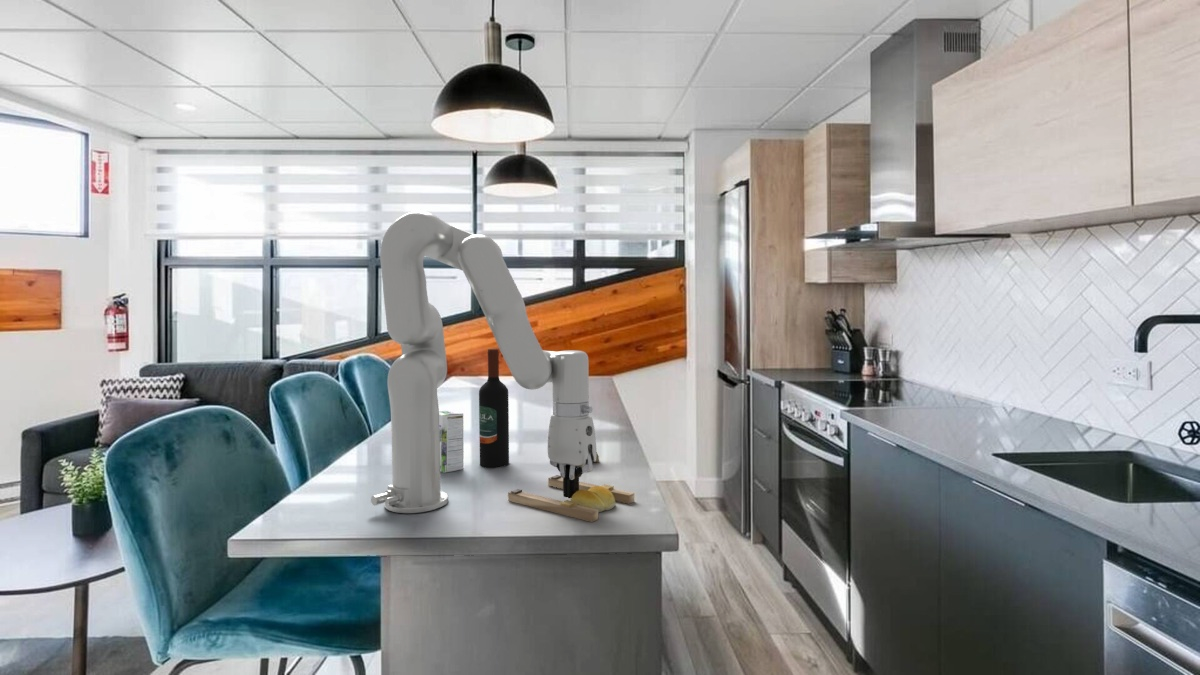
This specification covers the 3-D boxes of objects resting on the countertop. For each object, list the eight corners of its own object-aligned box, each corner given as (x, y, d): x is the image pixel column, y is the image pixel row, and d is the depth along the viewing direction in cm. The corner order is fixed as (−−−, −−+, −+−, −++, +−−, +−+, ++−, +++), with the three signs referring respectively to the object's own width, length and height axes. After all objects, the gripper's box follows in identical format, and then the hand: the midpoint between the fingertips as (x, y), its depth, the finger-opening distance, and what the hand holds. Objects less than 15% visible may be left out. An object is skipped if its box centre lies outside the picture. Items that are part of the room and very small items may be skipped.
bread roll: (564, 506, 124) (563, 487, 124) (600, 498, 129) (600, 480, 129) (584, 517, 117) (584, 497, 117) (622, 509, 122) (622, 489, 122)
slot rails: (591, 522, 114) (591, 510, 114) (508, 500, 127) (508, 490, 127) (634, 501, 127) (634, 490, 126) (554, 483, 139) (554, 473, 139)
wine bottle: (512, 466, 155) (510, 350, 153) (482, 469, 152) (481, 350, 151) (505, 459, 162) (504, 348, 160) (477, 462, 159) (475, 348, 158)
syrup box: (433, 468, 153) (432, 412, 152) (454, 464, 156) (453, 409, 156) (443, 473, 148) (442, 415, 147) (464, 469, 152) (464, 412, 151)
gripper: (610, 410, 125) (610, 498, 125) (554, 404, 133) (555, 485, 134) (588, 416, 118) (588, 507, 119) (532, 408, 127) (532, 494, 128)
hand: (571, 495), depth 127 cm, fingers closed
